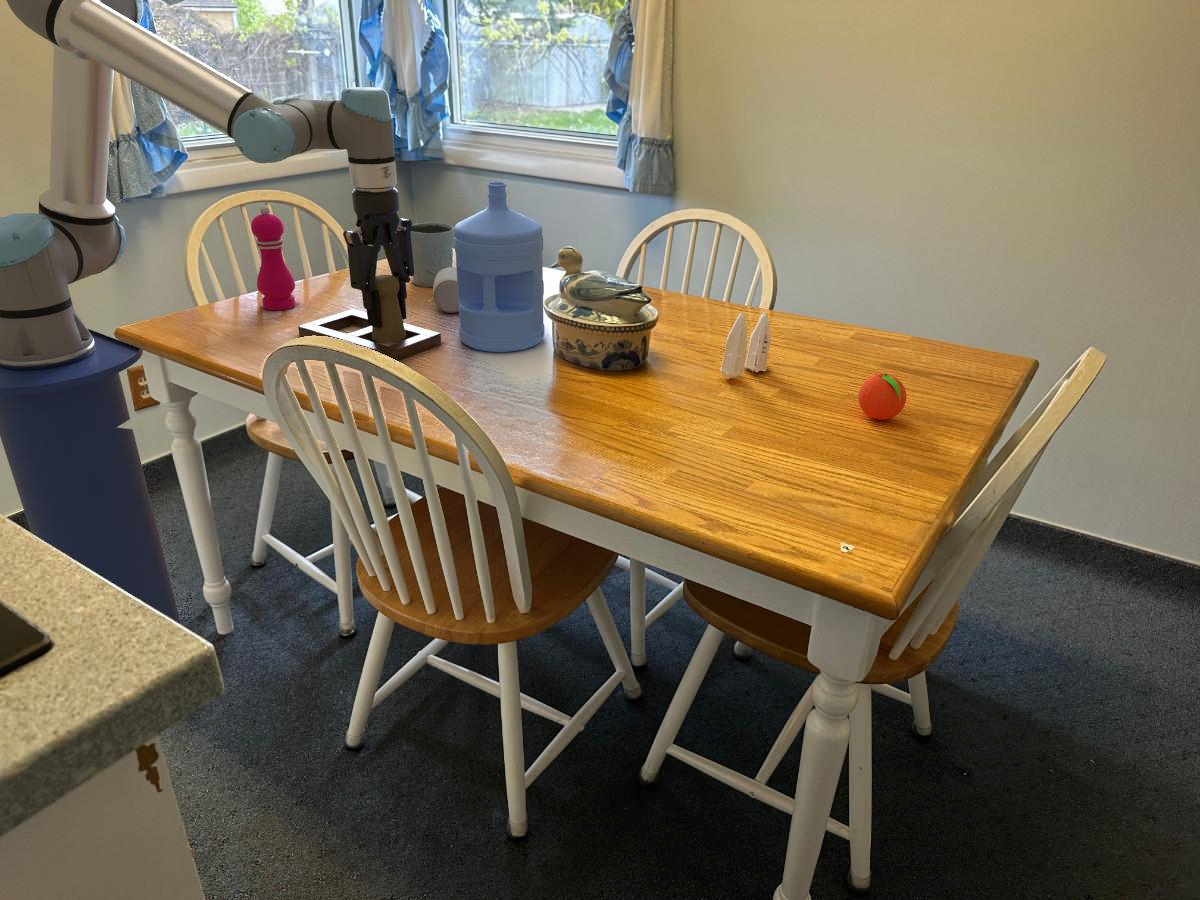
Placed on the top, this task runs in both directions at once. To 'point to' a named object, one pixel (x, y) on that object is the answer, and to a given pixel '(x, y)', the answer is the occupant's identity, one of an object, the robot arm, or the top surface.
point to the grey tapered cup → (431, 251)
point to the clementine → (882, 396)
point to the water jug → (499, 277)
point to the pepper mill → (272, 262)
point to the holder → (412, 344)
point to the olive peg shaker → (388, 310)
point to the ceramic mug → (446, 290)
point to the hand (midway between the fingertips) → (387, 321)
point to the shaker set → (738, 346)
